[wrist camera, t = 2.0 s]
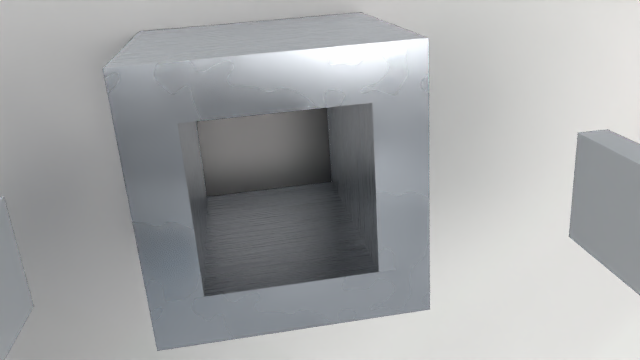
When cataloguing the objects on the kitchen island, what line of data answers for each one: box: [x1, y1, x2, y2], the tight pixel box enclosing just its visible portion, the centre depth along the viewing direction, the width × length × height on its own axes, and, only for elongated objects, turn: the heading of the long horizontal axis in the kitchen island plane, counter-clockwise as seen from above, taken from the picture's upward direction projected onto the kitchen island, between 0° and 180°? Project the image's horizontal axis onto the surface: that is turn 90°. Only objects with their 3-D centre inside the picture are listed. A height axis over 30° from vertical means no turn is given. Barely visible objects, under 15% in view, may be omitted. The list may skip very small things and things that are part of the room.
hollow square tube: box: [103, 12, 430, 351], centre depth 18 cm, size 7×7×7 cm
